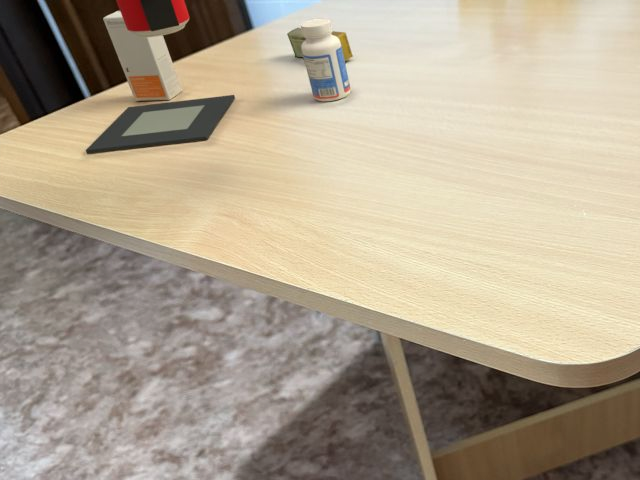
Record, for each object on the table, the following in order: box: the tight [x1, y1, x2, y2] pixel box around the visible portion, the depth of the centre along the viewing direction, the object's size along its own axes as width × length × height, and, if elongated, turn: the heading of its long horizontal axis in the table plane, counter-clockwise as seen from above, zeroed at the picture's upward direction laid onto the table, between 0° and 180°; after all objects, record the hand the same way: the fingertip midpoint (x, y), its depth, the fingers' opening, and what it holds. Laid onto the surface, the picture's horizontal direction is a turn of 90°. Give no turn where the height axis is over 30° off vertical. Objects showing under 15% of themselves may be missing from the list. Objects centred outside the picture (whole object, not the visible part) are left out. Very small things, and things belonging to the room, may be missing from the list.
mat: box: [85, 94, 236, 154], centre depth 96 cm, size 16×16×1 cm
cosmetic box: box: [102, 10, 183, 102], centre depth 102 cm, size 6×4×12 cm
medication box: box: [286, 27, 354, 62], centre depth 112 cm, size 12×3×4 cm, turn 52°
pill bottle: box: [300, 18, 352, 102], centre depth 95 cm, size 6×5×10 cm
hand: (157, 21), depth 70 cm, fingers closed on beverage can, 6 cm apart
